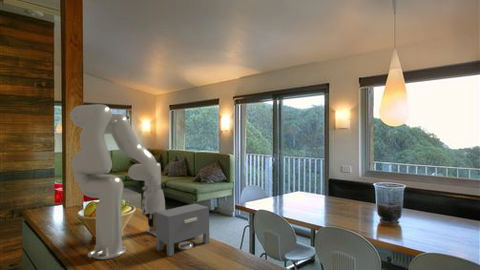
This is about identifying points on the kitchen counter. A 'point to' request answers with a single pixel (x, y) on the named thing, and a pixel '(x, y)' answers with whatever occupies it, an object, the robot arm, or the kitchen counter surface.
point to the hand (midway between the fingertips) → (153, 225)
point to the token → (185, 245)
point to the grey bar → (153, 225)
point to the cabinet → (181, 225)
